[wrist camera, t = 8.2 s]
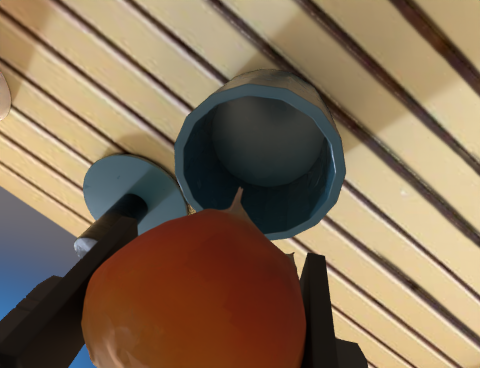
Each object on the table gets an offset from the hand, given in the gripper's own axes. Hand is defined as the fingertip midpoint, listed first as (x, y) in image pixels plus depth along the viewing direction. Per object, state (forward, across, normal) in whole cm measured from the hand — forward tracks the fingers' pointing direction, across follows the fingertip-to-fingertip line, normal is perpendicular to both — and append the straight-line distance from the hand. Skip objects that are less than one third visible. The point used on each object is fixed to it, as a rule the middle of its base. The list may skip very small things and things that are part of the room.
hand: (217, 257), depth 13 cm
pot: (+20, 0, 0) cm, 20 cm away
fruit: (0, 0, 0) cm, 0 cm away
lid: (+19, -15, -12) cm, 28 cm away
